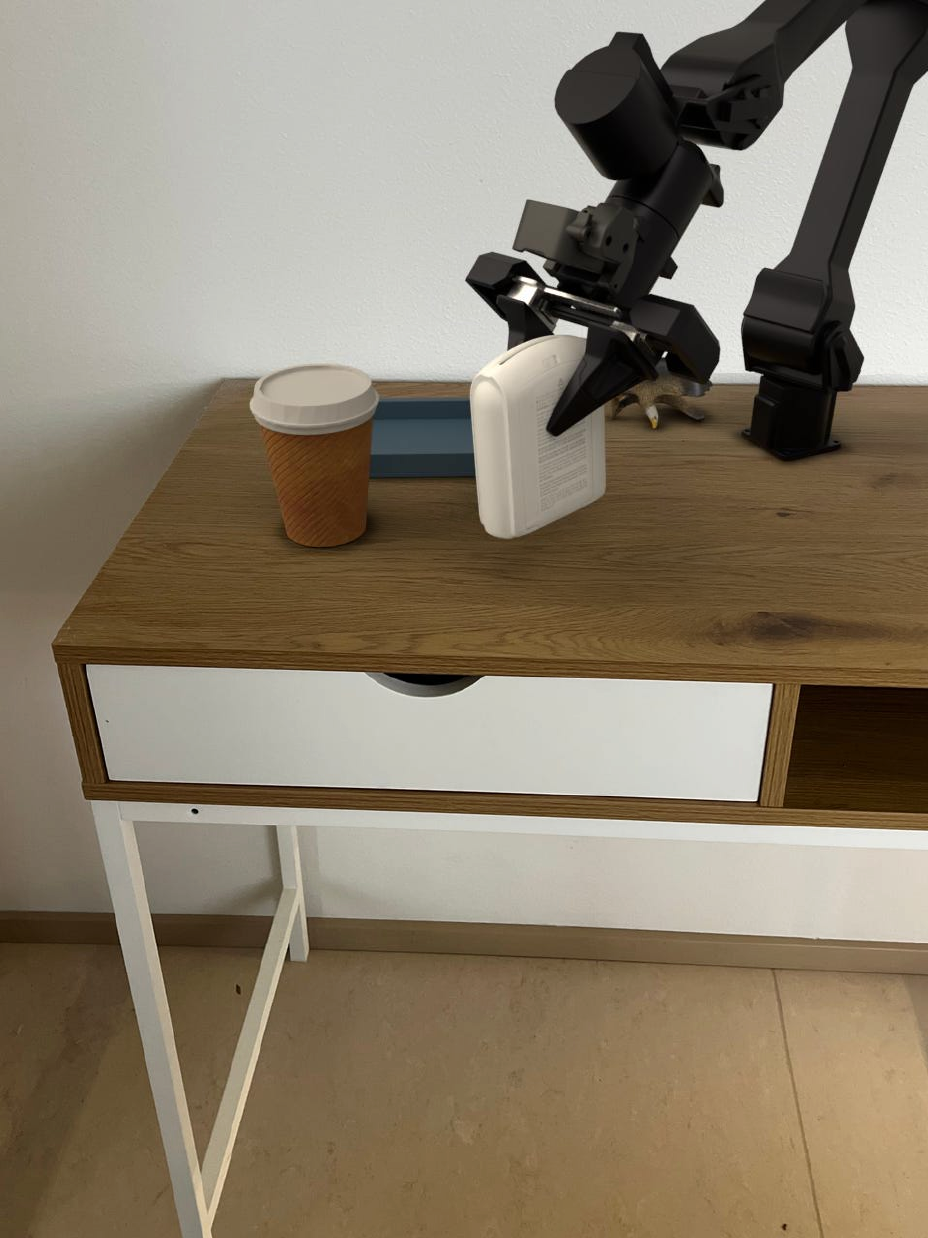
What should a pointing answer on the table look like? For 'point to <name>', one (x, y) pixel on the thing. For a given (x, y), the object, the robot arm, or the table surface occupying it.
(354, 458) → the disposable coffee cup
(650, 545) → the table surface
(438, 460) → the tray
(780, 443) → the robot arm
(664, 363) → the eagle figurine
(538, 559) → the table surface
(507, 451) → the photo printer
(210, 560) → the table surface
